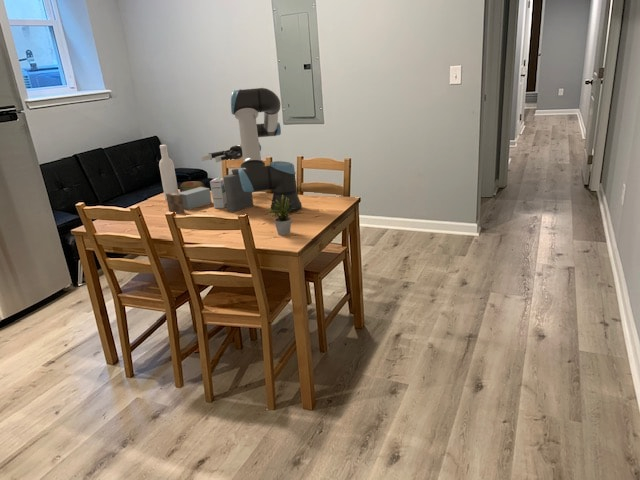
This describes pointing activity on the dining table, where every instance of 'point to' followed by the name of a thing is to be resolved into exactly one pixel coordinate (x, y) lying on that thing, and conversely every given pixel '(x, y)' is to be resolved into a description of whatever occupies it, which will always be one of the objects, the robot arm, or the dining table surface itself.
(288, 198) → the robot arm
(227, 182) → the flask
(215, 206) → the syrup box
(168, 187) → the bottle
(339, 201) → the dining table surface
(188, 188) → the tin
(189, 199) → the slate block
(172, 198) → the walnut board
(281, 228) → the house plant
